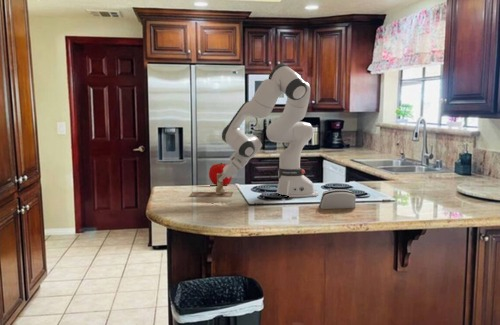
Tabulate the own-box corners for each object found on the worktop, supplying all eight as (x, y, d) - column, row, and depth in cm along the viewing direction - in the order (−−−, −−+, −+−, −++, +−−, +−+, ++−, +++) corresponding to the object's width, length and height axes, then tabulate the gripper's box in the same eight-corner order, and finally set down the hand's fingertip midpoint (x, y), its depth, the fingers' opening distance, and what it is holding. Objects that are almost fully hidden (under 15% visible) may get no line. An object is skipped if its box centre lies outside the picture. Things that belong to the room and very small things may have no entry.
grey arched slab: (352, 205, 204) (355, 187, 199) (355, 210, 200) (358, 192, 195) (318, 206, 203) (320, 188, 198) (320, 211, 199) (322, 193, 194)
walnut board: (233, 194, 230) (233, 191, 230) (231, 199, 217) (231, 196, 217) (192, 194, 231) (192, 191, 230) (188, 199, 218) (188, 196, 217)
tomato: (231, 187, 249) (231, 164, 247) (207, 187, 249) (207, 164, 247) (232, 182, 264) (232, 160, 263) (210, 182, 265) (210, 160, 263)
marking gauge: (224, 191, 228) (223, 173, 227) (224, 193, 222) (224, 174, 221) (215, 191, 228) (215, 173, 227) (215, 193, 222) (215, 175, 221)
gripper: (232, 155, 234) (214, 173, 234) (234, 159, 214) (214, 179, 214) (240, 163, 235) (222, 181, 235) (243, 167, 214) (223, 187, 215)
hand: (219, 180), depth 224 cm, fingers closed on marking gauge, 3 cm apart
